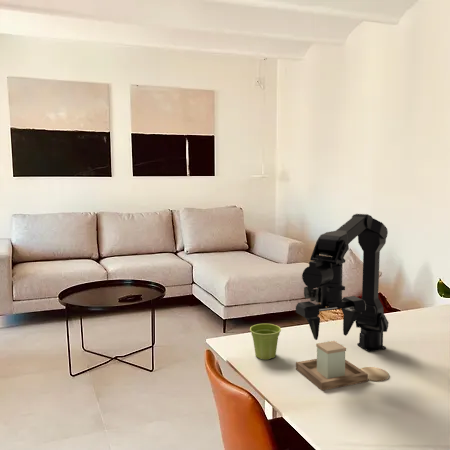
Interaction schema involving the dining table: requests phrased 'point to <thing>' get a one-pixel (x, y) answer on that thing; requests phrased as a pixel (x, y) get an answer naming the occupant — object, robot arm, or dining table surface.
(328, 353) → the sage canister
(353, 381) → the walnut tray
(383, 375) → the cork coaster
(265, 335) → the plant pot
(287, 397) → the dining table surface
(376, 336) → the robot arm
